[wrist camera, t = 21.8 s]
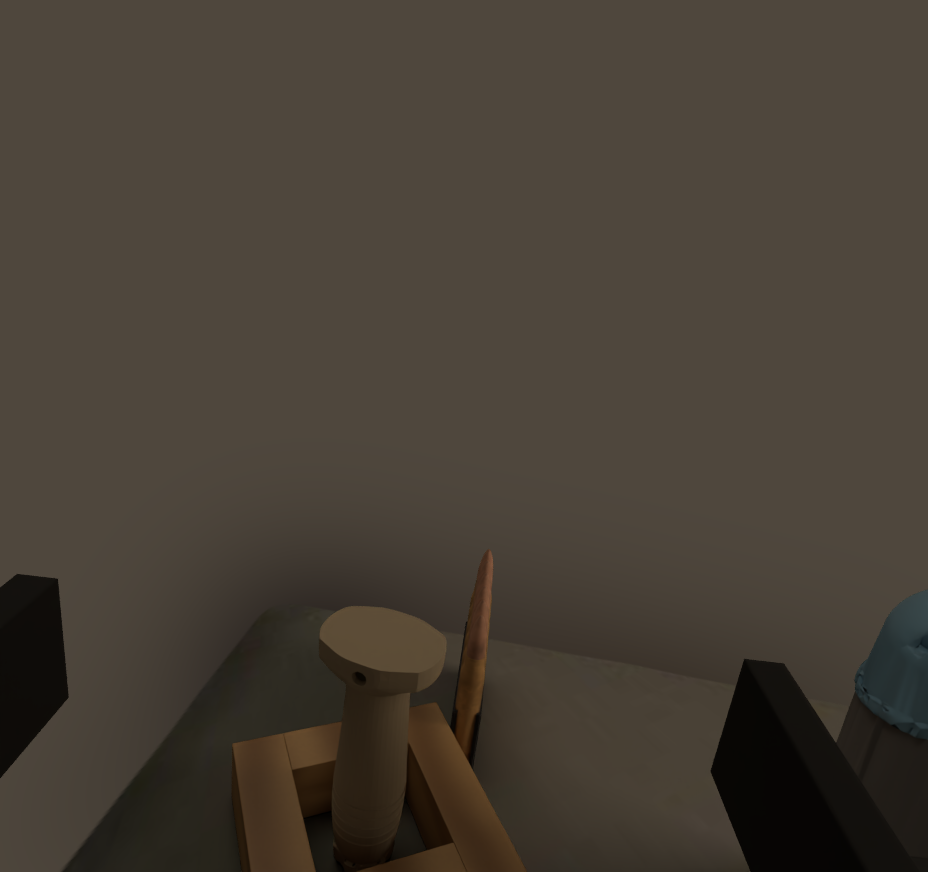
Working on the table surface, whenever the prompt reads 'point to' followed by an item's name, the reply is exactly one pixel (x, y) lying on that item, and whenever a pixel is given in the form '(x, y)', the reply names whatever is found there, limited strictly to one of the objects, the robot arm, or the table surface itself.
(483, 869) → the rack
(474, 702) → the ammunition clip
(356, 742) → the handle
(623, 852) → the table surface
